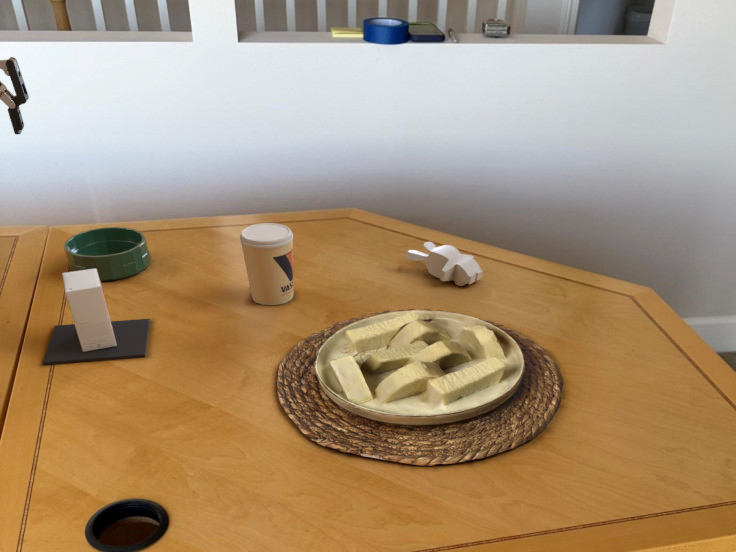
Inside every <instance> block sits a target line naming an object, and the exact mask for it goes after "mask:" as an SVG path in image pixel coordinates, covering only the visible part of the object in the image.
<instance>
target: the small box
mask: <svg viewBox="0 0 736 552" xmlns="http://www.w3.org/2000/svg"><path fill="white" fill-rule="evenodd" d="M61 277H62V280H63V286H64V293H65V297H66V300H67V303H68V307H69V310H70V314H71V317H72V320H73V321H72V322H73V324H75V327H76V331H77V334H78V337H79V341H80V344H81V347H82V350H83V352H86V351H92V350H97V349H103V348H109V347H114V346H117V344H116V340H115V336H114V332H113V328H112V324H111V316H110V313H109V308H108V305H107V301H106V300H107V299H106V297H105V293H104V289H103V285H102V281H100V278H99V275H98V271H97V269H88V270H80V271H73V272H71V271H67V272H62V273H61Z"/></svg>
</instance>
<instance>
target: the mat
mask: <svg viewBox="0 0 736 552" xmlns="http://www.w3.org/2000/svg"><path fill="white" fill-rule="evenodd" d="M150 322H151V319H150V318H140V319H126V320H125V319H123V320H112V321H111V324H112V328H113V332H114V336H115V340H116V344H117V346H114V347H109V348H103V349H97V350H92V351H86V352H83V350H82V347H81V344H80V341H79V337H78V334H77V331H76V327H75V324H74V323H72V324H59V325H58V324H57V325H54V326H53V330H52V332H51V336H50V338H49V342H48V345H47V348H46V351H45V354H44V358H43V361H42V364H43V366H49V365H61V364H73V363H86V362H87V363H88V362H99V361H100V362H101V361H111V360H123V359H125V360H126V359H137V358H145V357H146V354H147V346H148V338H149V331H150V324H151V323H150Z"/></svg>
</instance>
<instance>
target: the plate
mask: <svg viewBox="0 0 736 552" xmlns="http://www.w3.org/2000/svg"><path fill="white" fill-rule="evenodd" d="M276 381H277V382H276V388H277V390H276V392H277V396H278V400H279V403H280V406H281V407H282V408H283V410H284V412H285V413H286V415H287V416H288V417H289V418H290V420H291V421H292V422H293V423H294V424H295V425H296V427H297V428H298V429H299V430H300V432H302V434H303V435H304V436H306V437H307V438H308V439H309V440H310V441H313V442H316V443H317V444H318V445H320V446H322V447H326V448H329V449H333V450H338V451H339V452H341V453H350V454H354V455H356V456H362V457H367V458H372V459H373V458H374V459H378V460H383V461H389V462H396V463H401V464H408V465H415V466H425V467H426V466H427V467H428V466H429V467H430V466H435V465H440V464H441V465H448V464H450V465H451V464H458V463H462V462H467V461H471V460H480V459H485V458H488V457H490V456H494V455H496V454H500V453H503V452H505V451H508V450H512V449H515V448H517V447H518V446H521V445H523V444H525V443H526V442H528V441H532V440H534V439H535V438H537V436H539V435H540V434H541V433H542V432H543V431H544V430H545V429H547V427H548V425H549V423H550V422H551V421H552V420H553V419H554V416H555V414H556V413H557V412H558V411H559V408H560V406H561V402H562V392H563V390H564V379H563V374H562V372H561V368H560V366H559V365H558V363H556V362H555V361H554V359H553V358H552V355H550V353H549V352H548V351H547V350H545V349H544V348H543V347H541V346H540V345H538V344H537V343H536V342H535V341H533V340H531V339H530V338H529V337H528V336H526V335H525V334H523V333H521V332H519V331H517V330H515V329H513V328H511V327H509V326H505V325H504V324H502V323H497V322H495V321H492V320H490V319H489V320H484V319H482V318H477V317H474V316H470V315H467V314H464V313H459V312H455V311H447V310H442V309H430V308H419V309H416V308H409V309H395V310H388V309H387V310H384V311H381V312H372V313H370V314H368V315H367V314H364V315H363V314H362V315H360V316H358V317H351V318H349V319H346V320H342V321H338V322H335V323H333V324H332V325H331V326H328V327H326V328H324V329H322V330H320V331H319V332H315V333H313V334H311V335H309V336H306V337H305V338H304V339H301V340H299V342H298V343H296V344H295V345H294V346H293V347H292V348H291V349H290V351H289V352H288V353H287V355H286V356H284V357H283V359H282V360H281V361H280V363H279V366H278V370H277V380H276Z"/></svg>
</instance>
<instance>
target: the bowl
mask: <svg viewBox="0 0 736 552" xmlns="http://www.w3.org/2000/svg"><path fill="white" fill-rule="evenodd" d="M147 243H148V242H147V238H146V235H145V234H144V233H143V232H142V231H140V230H137V229H134V228H130V227H124V226H123V227H122V226H110V227H109V226H108V227H107V226H106V227H99V228H92V229H88V230H85V231H81V232H78V233H76V234H74V235H72V236H70V237H69V238H67V239H66V241H64V244H63V249H64V253H65V256H66V260H67V263H68V267H69V270H70V272H73V271H80V270H88V269H97V271H98V275H99V278H100V281H101V282H109V281H118V280H123V279H126V278H129V277H133V276H135V275H137V274H139V273H141V272H142V271H143V270H145V269H146V268H147V267H149V265H150V264H151V263H150V262H151V256H150V253H149V252H150V251H149V247H148V244H147Z"/></svg>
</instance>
